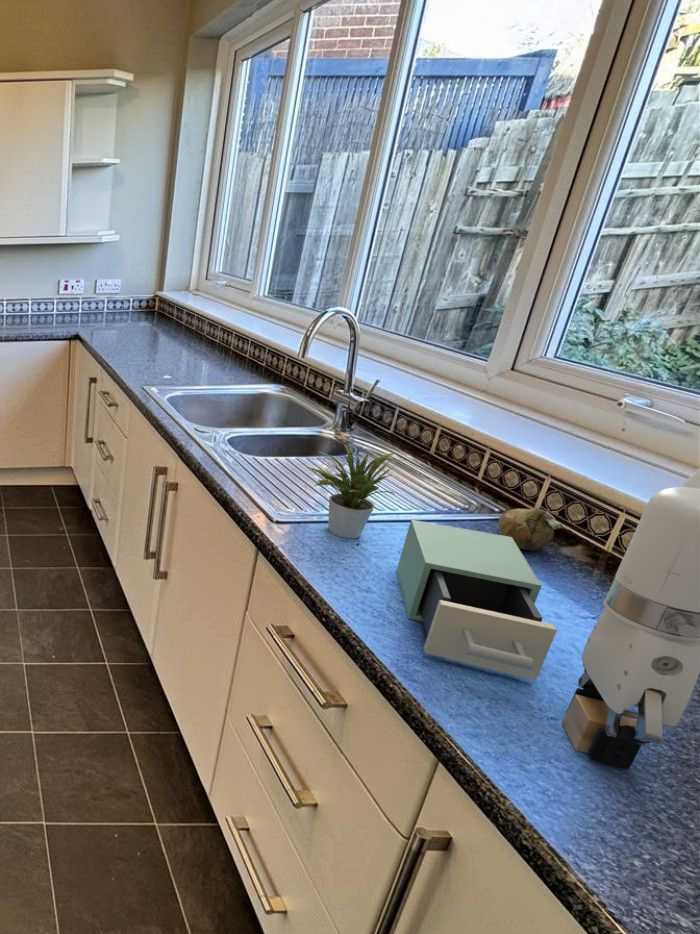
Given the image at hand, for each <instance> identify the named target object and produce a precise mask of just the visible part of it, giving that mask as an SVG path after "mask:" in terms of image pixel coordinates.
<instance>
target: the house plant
mask: <svg viewBox="0 0 700 934" xmlns="http://www.w3.org/2000/svg"><path fill="white" fill-rule="evenodd" d="M344 448H345V450H346V453H347V455H346V454H345V453H342V455H343V456H344V458H345V460H346V463H347V465H348V469H349V474H348V473H347V471H346V470H345V469H346V468H344V466H343V464H342V463H340V461H339V460H338V459H337V458H335V457H334V456H333V455H330V454H328V453H326V452H323V451H319V450H315V449H314V450H315V452H318V453H320V454H323V455H325V456H324V458H325V459H328V460H330V461H332V462H336V464H335V463H332V462H330V461H327V463H328V464H332V465H333V466H334V467H335V469H336V470H337V471H338V473H334V474H331V473H329V472H327V471H324V470H322V469H318V468H314V467H310V466H309V467H308V468H309V469H310V470H312V471H314V474H315V475H318V476H321V477H322V478H323V479H318V480H316V481H314V484H315V483H316V484H315V485H314V487H317V486H331V487H332V488H333V489H334V490H335V492H337V493H335V494H334V493H333V494H332V495H330V496H329V497H328V521H327V523H328V525H327V526H328V527H327V529H328V531H329V532H330V533H331V534H333V535H335V536H337V537H339V538H344V539H351V540H352V539H359V538H360V536H361V534H362V533H363V530H364V528H365V526H366V525H367V523H368V521H369V519H370V516H371V515H372V514H373V513H372V512H373V511H374V509H375V504H374V503H373V502H372V501H371V500H369V499H367V498H368V497H370V496H371V495H374V494H377V493H379V494H380V493H388V494H391V495H393V496H394V497H396V494H395V493H394V492H392V491H389V490H381V491H377V490H378V489H380V487H379V486H377V484H381V483H382V480H385V478H388V477H392V474H388V472H390V470H392V469H393V468H394V467H395V465H393V466H391V467H390V468H388V469H387V470H386V471H384V472H383V473H382V474H381V475H379V474H380V473H381V472H382V471H383V470H384V469H386V467H387V466H388V465H389V464H390V463H391V460H389V461H387V460H388V459H389V458H390V457H392V456H393V455H395V454H396V452H391V453H387V454H385V455H381V456H378V457H376V458H374V459H373V460H371V461H370V462H369V463H368V464H367V462H368V459H369V453H367V454H365V456H364V458H363V459H362V460H361V462H360V457H359V456H358V454H357V453H354V454H353V452H352V450H351V449H350V448H349V446H347V445H346V444H344ZM354 456H355V461H354ZM386 461H387V462H386ZM354 462H355V463H354ZM385 462H386V463H385ZM383 463H385V464H383ZM337 465H338V466H337ZM381 465H382V466H381ZM380 466H381V467H380ZM339 467H340V468H339ZM379 467H380V468H379ZM377 469H378V470H377ZM386 474H387V475H386ZM378 475H379V476H378ZM377 476H378V477H377ZM376 477H377V478H376Z"/></svg>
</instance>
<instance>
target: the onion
mask: <svg viewBox="0 0 700 934" xmlns="http://www.w3.org/2000/svg"><path fill="white" fill-rule="evenodd" d="M497 525H498V530H499V533H500V535H503V536H508V537H512V538H513V540H514V542H515V543H516V545H517V546H518V548H519V550H526V551H535V550H538V549H542V548H544V547H546V546H548V545H549V544H550V543H551V542H552V541H553V539H554V535H555V531H554V530H559V529H562V528H563V524H562V523H561V522H559V521H557V520H556V517H554V516H553V514H551V513H550V512H549V511H548V510H544V509H542V508H539V507H535V506H534V509H533V508H532V509H531V508H511V509H509V510H507V511H506V512H505V513H503V514H501V516H500V517H499V518H498V523H497Z"/></svg>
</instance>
